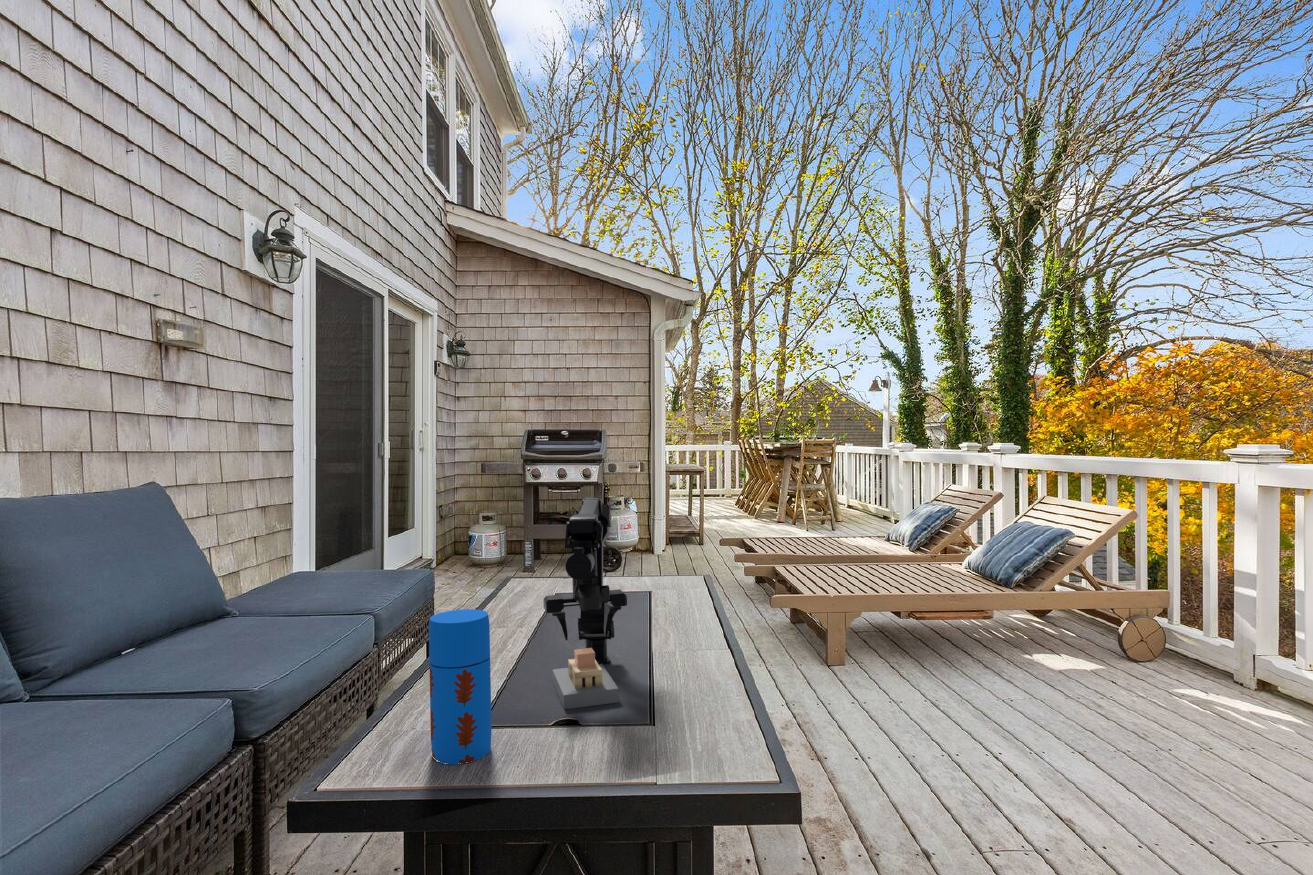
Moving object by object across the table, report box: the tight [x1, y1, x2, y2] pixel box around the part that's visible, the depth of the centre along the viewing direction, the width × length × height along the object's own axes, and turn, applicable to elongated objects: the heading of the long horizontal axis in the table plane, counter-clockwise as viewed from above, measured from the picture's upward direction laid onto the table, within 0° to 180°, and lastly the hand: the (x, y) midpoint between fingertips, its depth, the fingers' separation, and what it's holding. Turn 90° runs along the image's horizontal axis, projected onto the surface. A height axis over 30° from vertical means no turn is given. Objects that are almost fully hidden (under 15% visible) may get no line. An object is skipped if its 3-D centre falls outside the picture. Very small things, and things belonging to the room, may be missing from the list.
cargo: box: [573, 647, 595, 668], centre depth 154 cm, size 4×4×3 cm
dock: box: [552, 664, 620, 710], centre depth 155 cm, size 18×12×3 cm, turn 16°
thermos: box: [428, 608, 492, 765], centre depth 125 cm, size 11×11×25 cm
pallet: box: [567, 658, 602, 689], centre depth 154 cm, size 10×6×4 cm, turn 16°
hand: (586, 637), depth 157 cm, fingers open, 9 cm apart
